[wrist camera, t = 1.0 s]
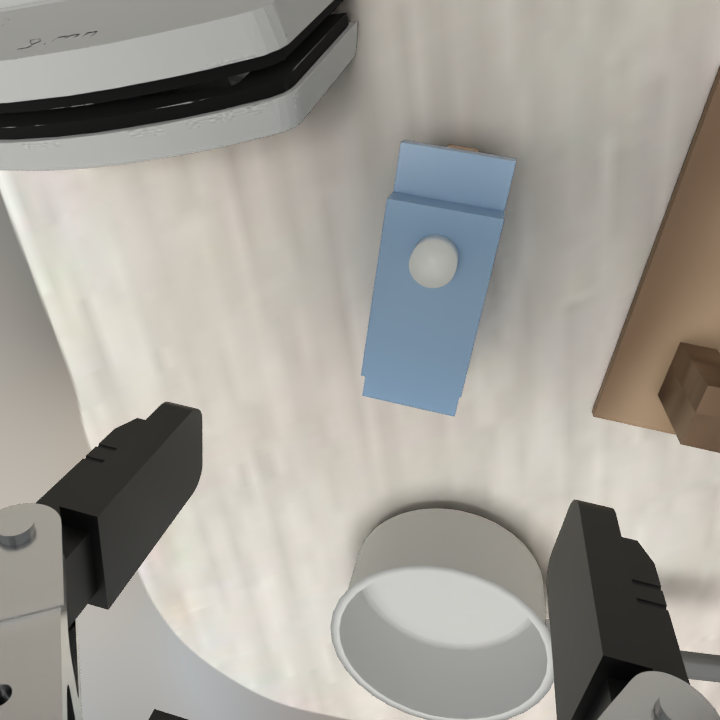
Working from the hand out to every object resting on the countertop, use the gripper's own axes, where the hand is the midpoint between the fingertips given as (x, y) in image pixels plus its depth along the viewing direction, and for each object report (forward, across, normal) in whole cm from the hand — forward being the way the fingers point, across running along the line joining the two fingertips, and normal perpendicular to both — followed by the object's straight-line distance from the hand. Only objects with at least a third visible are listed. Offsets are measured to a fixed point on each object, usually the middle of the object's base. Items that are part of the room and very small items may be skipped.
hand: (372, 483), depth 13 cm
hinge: (+17, +13, -7) cm, 22 cm away
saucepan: (+16, -8, +17) cm, 25 cm away
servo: (+16, 0, 0) cm, 16 cm away
